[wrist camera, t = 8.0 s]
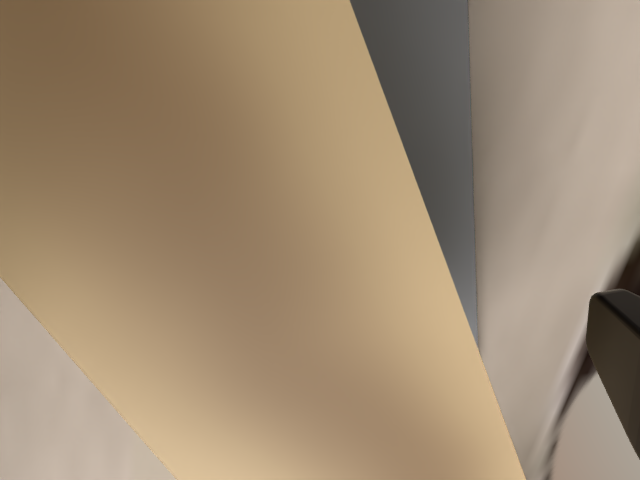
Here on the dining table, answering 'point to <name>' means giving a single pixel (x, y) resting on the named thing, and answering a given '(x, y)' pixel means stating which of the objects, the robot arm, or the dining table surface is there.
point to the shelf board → (237, 241)
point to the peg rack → (431, 116)
